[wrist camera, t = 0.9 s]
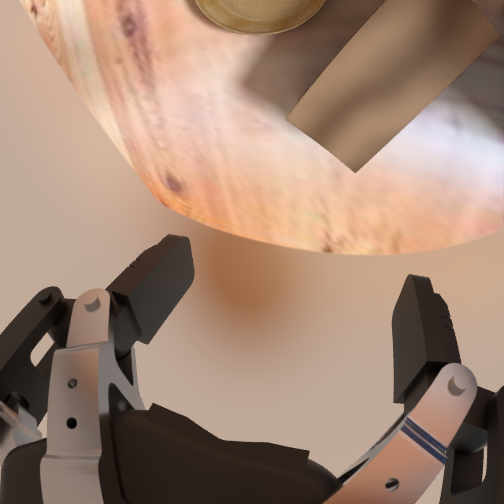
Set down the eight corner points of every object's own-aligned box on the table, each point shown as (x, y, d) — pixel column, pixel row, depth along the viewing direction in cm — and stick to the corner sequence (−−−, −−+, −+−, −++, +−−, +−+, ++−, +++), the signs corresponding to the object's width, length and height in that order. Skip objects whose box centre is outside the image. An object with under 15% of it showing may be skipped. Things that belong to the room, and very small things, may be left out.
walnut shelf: (298, 100, 28) (285, 119, 23) (410, -26, 12) (427, -40, 7) (355, 143, 30) (355, 173, 25) (469, 30, 13) (500, 34, 8)
